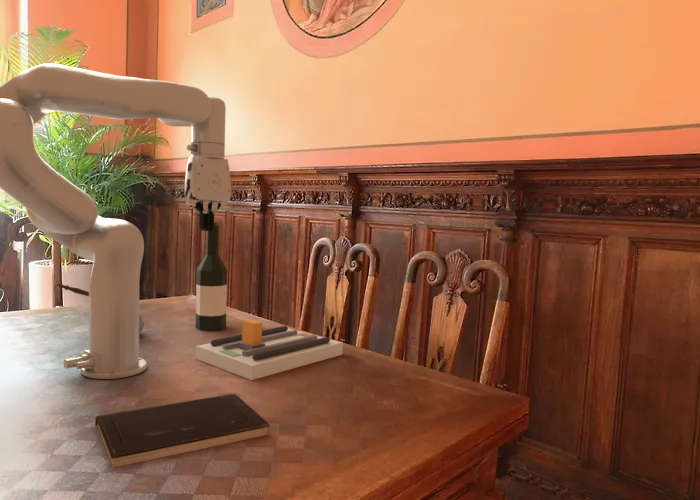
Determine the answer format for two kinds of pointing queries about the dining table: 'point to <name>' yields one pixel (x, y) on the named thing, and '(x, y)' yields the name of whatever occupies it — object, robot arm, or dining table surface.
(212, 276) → the wine bottle
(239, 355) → the slider track board
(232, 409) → the hardcover book
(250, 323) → the handle
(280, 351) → the dressed cords
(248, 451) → the dining table surface
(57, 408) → the dining table surface
